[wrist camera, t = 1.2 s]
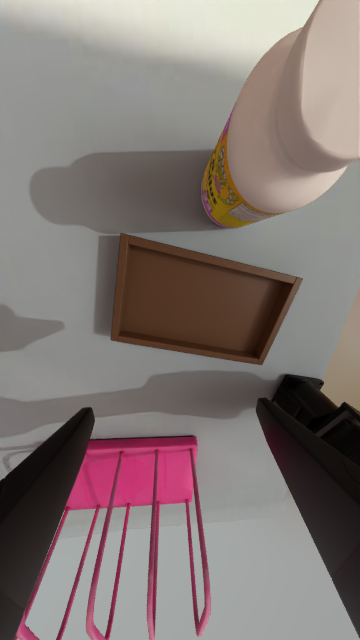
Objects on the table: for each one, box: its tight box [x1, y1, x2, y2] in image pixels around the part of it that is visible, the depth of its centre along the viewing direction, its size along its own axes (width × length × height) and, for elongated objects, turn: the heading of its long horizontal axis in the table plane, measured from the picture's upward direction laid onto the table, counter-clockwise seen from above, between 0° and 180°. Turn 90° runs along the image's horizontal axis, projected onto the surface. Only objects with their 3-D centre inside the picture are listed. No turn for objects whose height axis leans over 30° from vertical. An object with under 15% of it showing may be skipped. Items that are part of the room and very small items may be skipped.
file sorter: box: [14, 437, 211, 640], centre depth 25 cm, size 17×25×16 cm
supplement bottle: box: [201, 0, 360, 228], centre depth 11 cm, size 7×7×13 cm
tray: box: [111, 233, 303, 365], centre depth 20 cm, size 20×12×2 cm, turn 77°
